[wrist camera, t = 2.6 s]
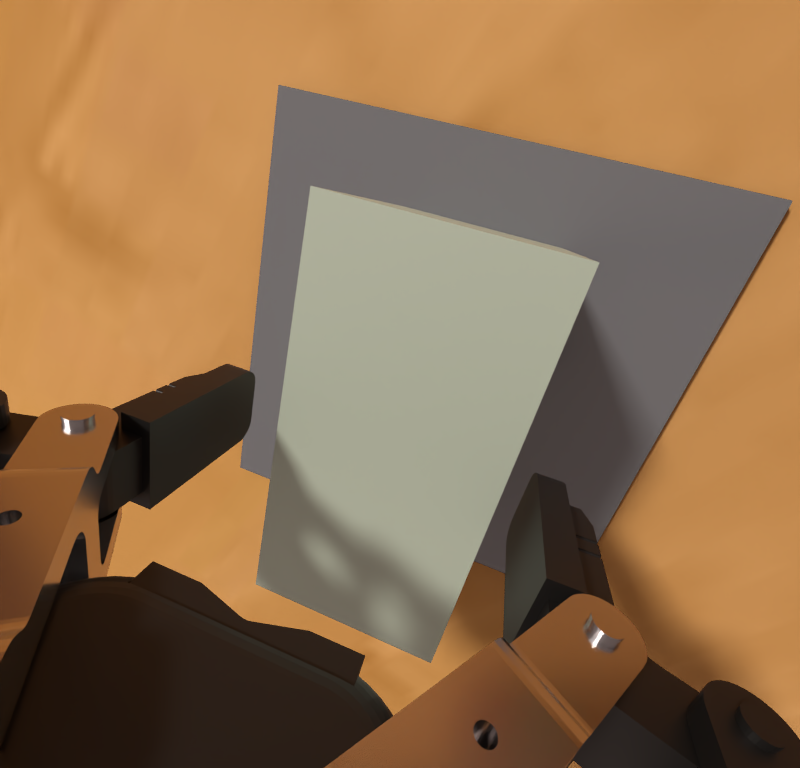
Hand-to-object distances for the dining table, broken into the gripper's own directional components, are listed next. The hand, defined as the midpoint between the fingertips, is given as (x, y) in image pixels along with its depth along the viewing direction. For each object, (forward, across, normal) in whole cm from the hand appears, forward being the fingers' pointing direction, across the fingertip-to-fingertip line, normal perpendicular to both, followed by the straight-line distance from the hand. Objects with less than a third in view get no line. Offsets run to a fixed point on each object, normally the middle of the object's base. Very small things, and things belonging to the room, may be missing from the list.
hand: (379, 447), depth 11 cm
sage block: (+7, 0, 0) cm, 7 cm away
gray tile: (+8, 0, 0) cm, 8 cm away
